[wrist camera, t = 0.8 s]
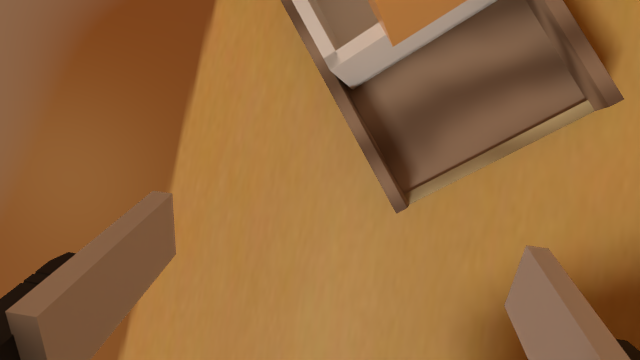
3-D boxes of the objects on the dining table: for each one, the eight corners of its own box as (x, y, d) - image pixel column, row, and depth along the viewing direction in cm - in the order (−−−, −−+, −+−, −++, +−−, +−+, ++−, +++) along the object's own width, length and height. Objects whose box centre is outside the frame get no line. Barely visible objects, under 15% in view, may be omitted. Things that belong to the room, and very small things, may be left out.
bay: (601, 106, 32) (624, 99, 28) (400, 207, 36) (396, 213, 33) (453, -136, 34) (455, -174, 30) (282, -10, 39) (265, -29, 35)
